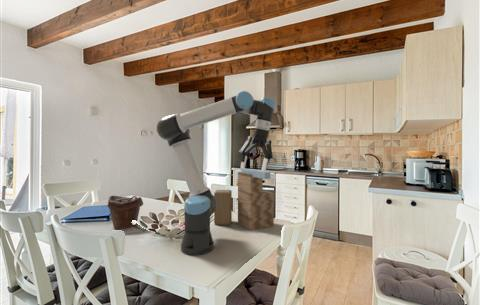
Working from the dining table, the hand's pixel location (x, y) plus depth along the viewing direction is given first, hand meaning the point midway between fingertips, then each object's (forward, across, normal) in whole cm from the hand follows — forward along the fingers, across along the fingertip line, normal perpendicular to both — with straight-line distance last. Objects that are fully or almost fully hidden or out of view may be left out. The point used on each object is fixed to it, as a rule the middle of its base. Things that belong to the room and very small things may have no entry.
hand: (253, 169), depth 127 cm
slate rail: (+6, +12, +12) cm, 18 cm away
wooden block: (+40, +5, +24) cm, 47 cm away
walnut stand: (+36, +20, +12) cm, 43 cm away
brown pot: (+52, -46, +52) cm, 87 cm away
